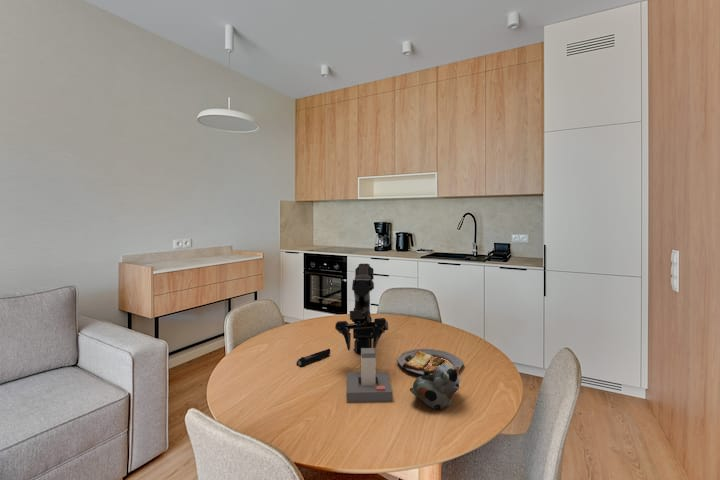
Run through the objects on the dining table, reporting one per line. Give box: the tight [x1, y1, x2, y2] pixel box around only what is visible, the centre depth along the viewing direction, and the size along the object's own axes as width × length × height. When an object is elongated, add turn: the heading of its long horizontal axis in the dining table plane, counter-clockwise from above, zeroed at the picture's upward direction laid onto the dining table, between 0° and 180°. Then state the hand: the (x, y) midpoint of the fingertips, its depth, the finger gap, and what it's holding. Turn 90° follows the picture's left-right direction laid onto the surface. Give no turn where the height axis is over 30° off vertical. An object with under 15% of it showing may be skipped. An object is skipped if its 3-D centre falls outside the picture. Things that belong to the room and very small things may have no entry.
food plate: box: [396, 348, 465, 376], centre depth 130 cm, size 25×23×4 cm
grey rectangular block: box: [360, 347, 377, 386], centre depth 111 cm, size 4×4×12 cm
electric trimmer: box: [296, 348, 331, 368], centre depth 135 cm, size 4×16×3 cm, turn 135°
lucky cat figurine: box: [409, 363, 461, 412], centre depth 105 cm, size 15×12×14 cm
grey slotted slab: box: [346, 371, 393, 403], centre depth 111 cm, size 14×14×4 cm
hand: (361, 349), depth 120 cm, fingers open, 9 cm apart
